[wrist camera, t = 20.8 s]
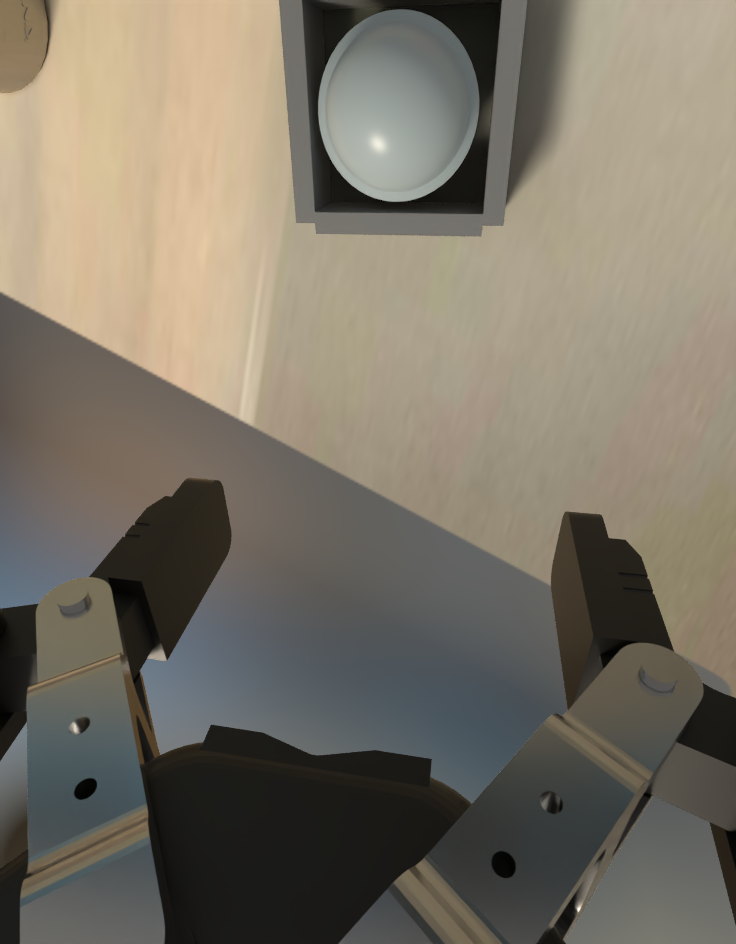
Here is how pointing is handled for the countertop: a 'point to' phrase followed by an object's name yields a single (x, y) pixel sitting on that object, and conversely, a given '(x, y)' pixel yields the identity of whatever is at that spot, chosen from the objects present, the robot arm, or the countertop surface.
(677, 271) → the countertop surface
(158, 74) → the countertop surface
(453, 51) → the dome
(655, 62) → the countertop surface
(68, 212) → the countertop surface
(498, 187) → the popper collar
